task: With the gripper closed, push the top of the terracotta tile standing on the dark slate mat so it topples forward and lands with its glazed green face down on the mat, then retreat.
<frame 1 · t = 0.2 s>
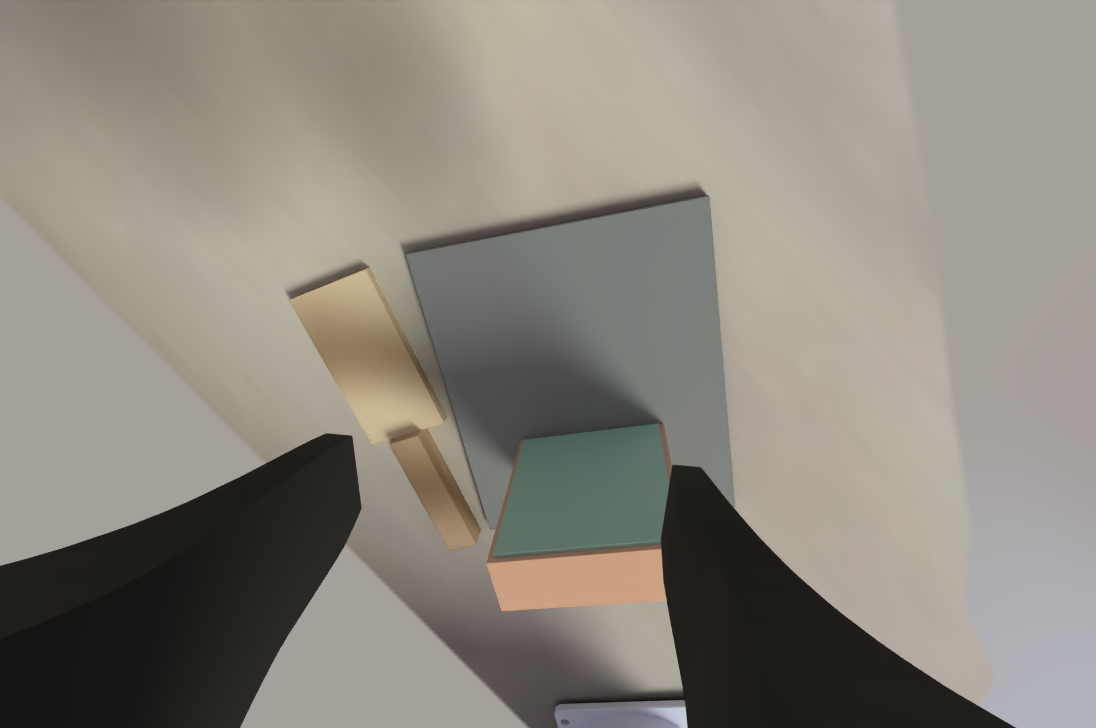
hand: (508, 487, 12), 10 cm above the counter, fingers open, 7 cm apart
tile: (594, 452, 23), resting on mat
wooden cleaver: (401, 409, 23), on the counter
mat: (582, 385, 22), on the counter
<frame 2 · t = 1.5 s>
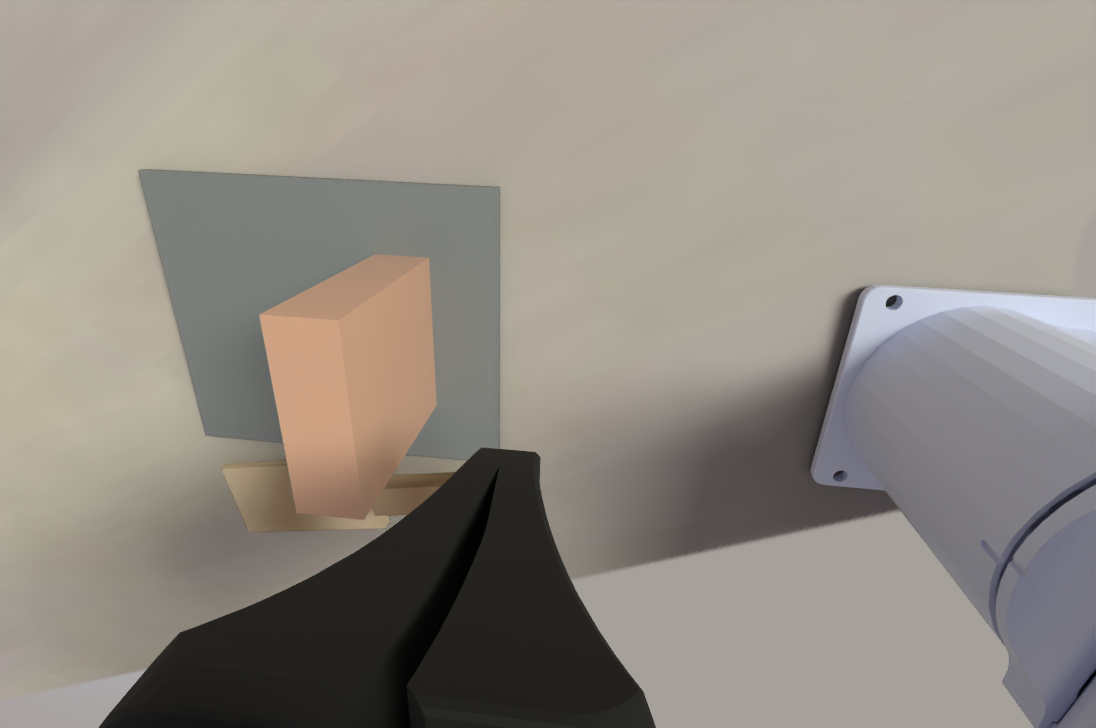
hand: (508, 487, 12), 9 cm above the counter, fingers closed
tile: (407, 333, 20), resting on mat
wooden cleaver: (359, 489, 24), on the counter
mat: (337, 324, 21), on the counter
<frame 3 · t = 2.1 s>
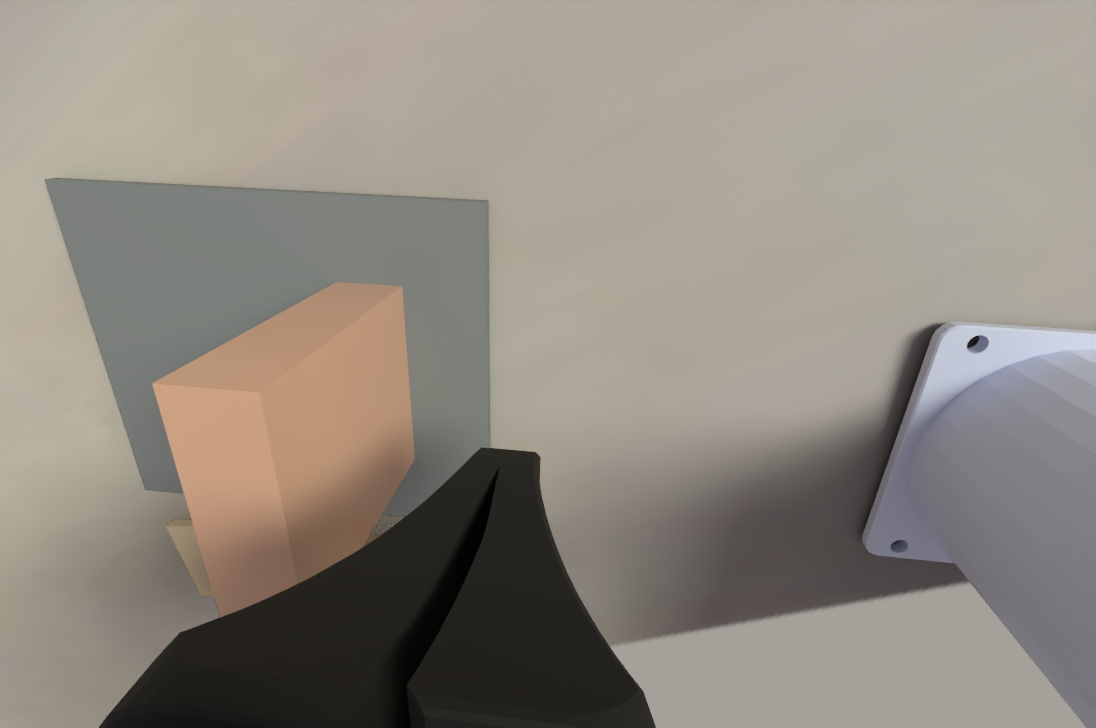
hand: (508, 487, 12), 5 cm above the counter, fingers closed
tile: (378, 376, 17), resting on mat
wooden cleaver: (327, 550, 21), on the counter
mat: (294, 364, 18), on the counter
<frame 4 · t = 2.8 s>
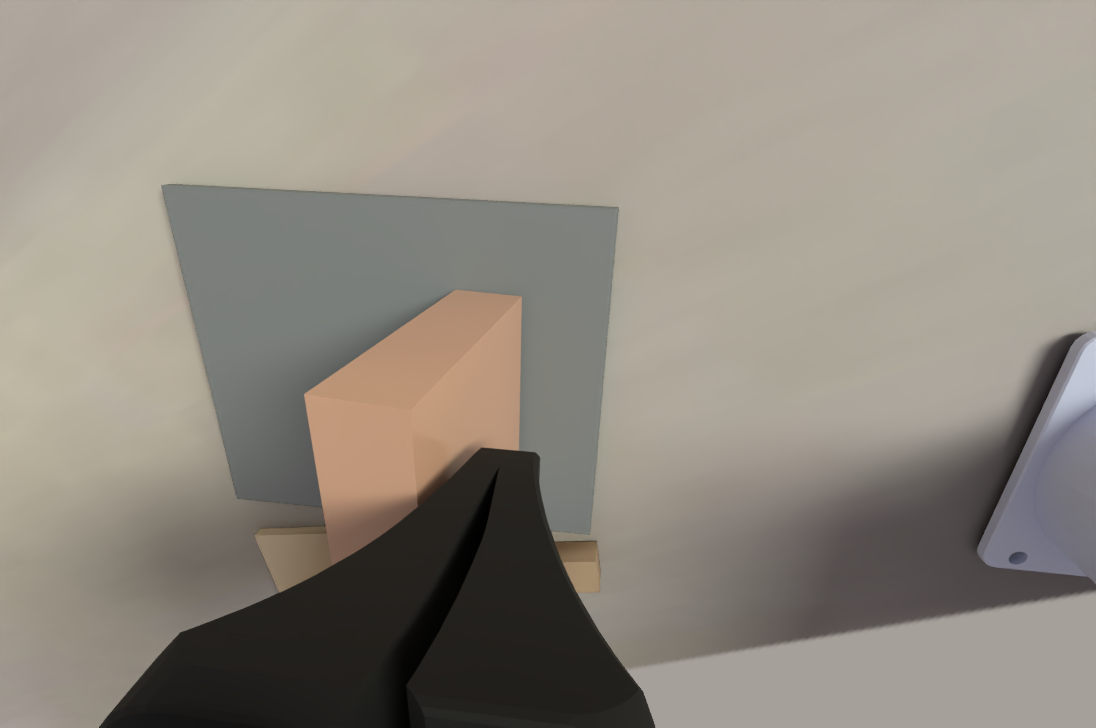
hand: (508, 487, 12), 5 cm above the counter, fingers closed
tile: (489, 386, 17), point 1 cm above the counter, tilted 7°, touching gripper, mat
wooden cleaver: (417, 559, 21), on the counter
mat: (401, 372, 17), on the counter
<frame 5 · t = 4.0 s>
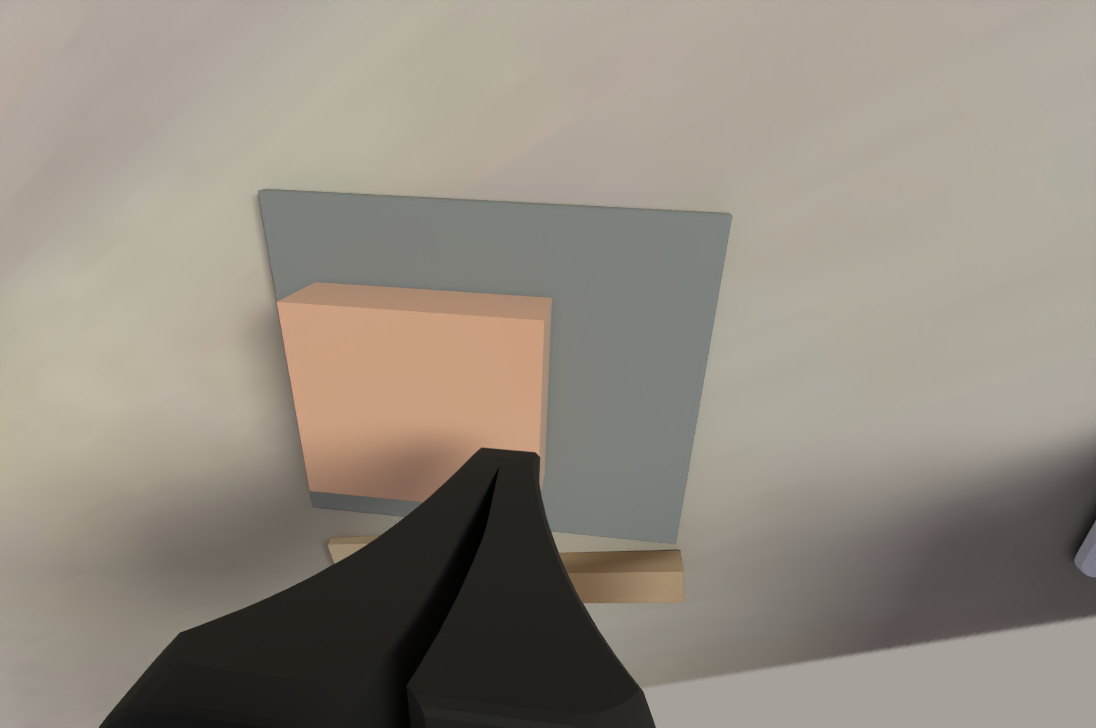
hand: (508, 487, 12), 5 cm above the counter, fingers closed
tile: (544, 407, 15), point 2 cm above the counter, tilted 90°, touching mat
wooden cleaver: (492, 568, 20), on the counter
mat: (490, 379, 17), on the counter
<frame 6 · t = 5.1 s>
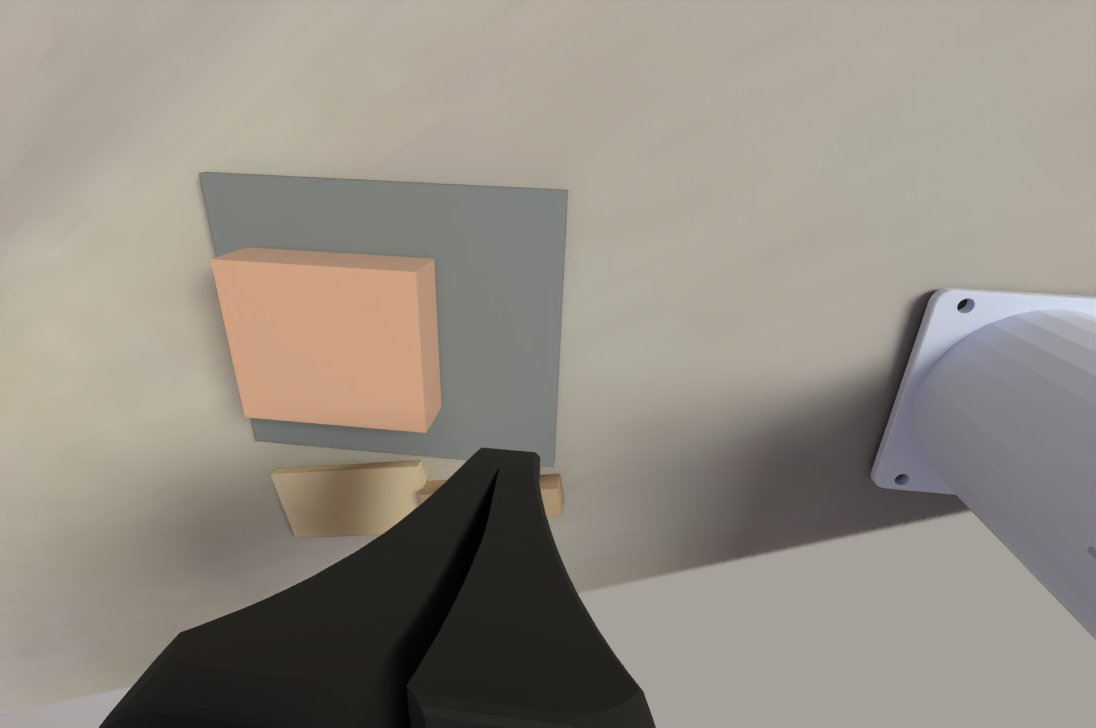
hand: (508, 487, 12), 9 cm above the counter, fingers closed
tile: (430, 347, 19), point 2 cm above the counter, tilted 90°, touching mat
wooden cleaver: (409, 494, 24), on the counter
mat: (394, 328, 21), on the counter
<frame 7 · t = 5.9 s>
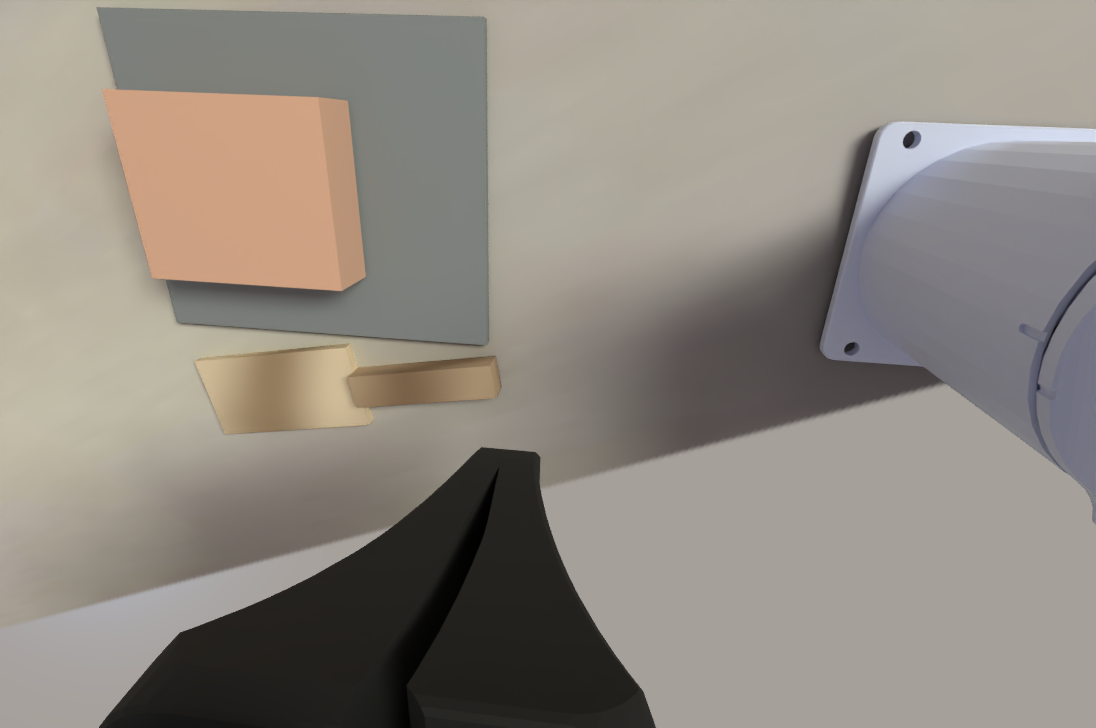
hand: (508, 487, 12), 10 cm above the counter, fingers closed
tile: (344, 197, 18), point 2 cm above the counter, tilted 90°, touching mat
wooden cleaver: (341, 384, 23), on the counter
mat: (314, 190, 20), on the counter
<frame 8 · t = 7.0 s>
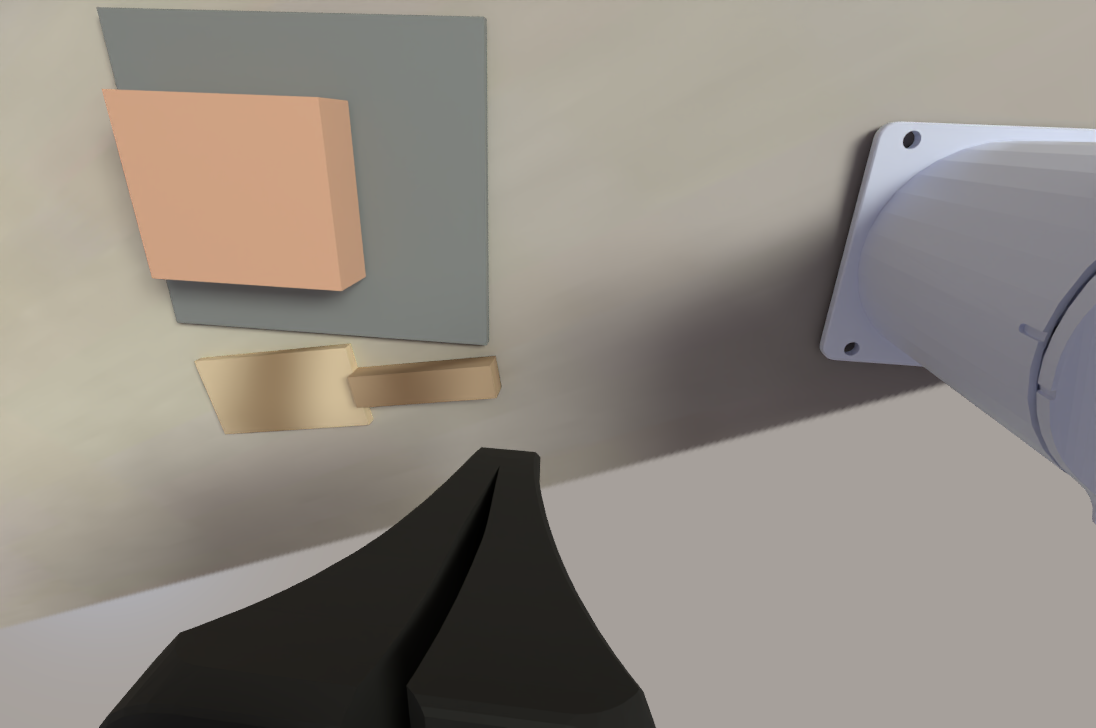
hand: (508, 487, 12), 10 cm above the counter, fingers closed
tile: (344, 197, 18), point 2 cm above the counter, tilted 90°, touching mat
wooden cleaver: (341, 384, 23), on the counter
mat: (314, 190, 20), on the counter
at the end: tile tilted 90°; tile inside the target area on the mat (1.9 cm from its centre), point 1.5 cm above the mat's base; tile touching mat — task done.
